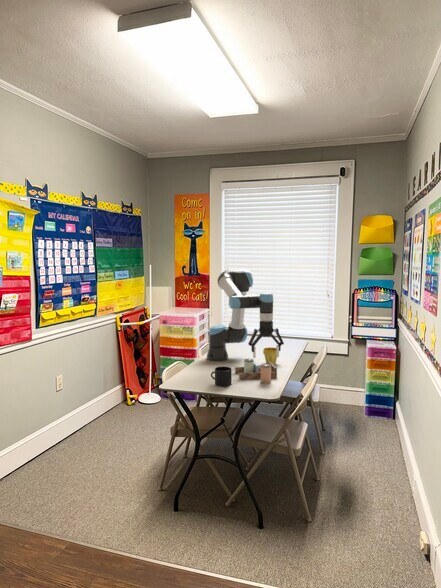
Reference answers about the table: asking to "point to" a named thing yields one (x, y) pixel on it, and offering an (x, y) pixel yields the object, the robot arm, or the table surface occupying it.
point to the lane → (255, 373)
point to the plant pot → (270, 355)
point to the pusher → (256, 367)
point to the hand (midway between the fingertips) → (266, 357)
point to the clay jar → (265, 373)
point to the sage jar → (248, 365)
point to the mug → (222, 376)
